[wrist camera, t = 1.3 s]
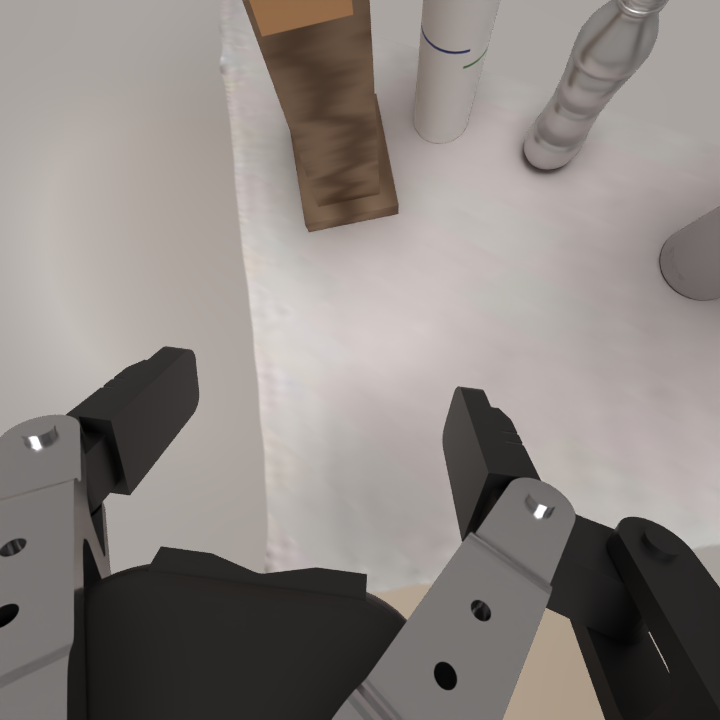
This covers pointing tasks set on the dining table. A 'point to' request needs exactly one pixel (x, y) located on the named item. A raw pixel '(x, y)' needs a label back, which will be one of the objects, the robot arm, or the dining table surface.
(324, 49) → the walnut stand
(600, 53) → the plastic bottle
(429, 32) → the cylindrical container
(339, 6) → the orange bar
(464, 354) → the dining table surface
